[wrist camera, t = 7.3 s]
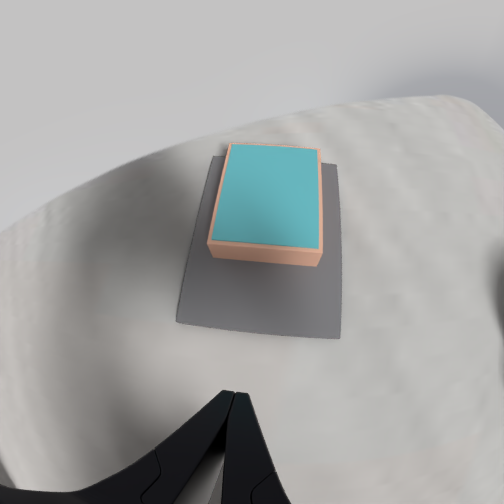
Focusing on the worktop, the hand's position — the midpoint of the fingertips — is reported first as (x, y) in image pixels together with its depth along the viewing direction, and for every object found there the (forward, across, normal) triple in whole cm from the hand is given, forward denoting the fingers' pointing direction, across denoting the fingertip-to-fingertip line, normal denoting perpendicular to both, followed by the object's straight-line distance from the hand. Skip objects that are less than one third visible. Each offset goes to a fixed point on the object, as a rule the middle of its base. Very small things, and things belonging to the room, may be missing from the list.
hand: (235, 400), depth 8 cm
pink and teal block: (+13, 0, -1) cm, 13 cm away
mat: (+16, 0, -2) cm, 16 cm away
